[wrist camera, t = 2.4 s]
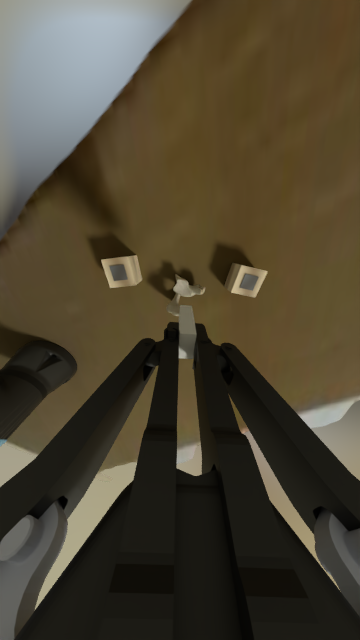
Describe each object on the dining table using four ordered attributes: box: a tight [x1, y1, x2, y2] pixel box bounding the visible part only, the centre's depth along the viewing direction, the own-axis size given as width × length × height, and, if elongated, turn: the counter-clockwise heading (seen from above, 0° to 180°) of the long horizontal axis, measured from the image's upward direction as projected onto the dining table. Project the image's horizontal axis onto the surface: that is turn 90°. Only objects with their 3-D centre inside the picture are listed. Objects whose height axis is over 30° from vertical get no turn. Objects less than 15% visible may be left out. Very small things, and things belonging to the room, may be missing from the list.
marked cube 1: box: [224, 263, 268, 297], centre depth 28 cm, size 5×5×5 cm
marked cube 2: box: [101, 255, 142, 288], centre depth 27 cm, size 5×5×5 cm
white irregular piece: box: [167, 274, 205, 316], centre depth 28 cm, size 9×6×10 cm
